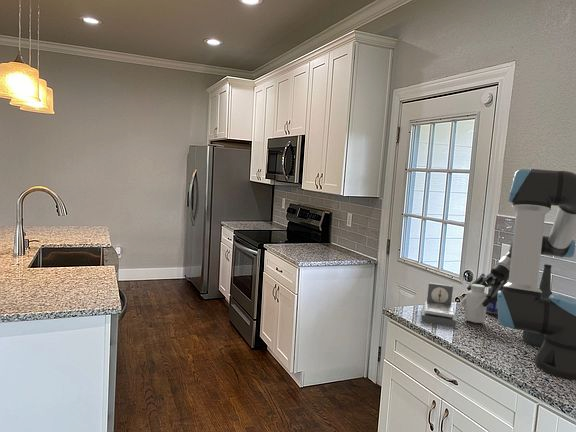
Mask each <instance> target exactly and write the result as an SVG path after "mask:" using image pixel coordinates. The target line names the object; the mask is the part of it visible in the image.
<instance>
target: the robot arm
mask: <svg viewBox="0 0 576 432" xmlns="http://www.w3.org/2000/svg"><path fill="white" fill-rule="evenodd" d="M513 176H514V177H513V179H512V183H511V188H510V191H509V196H508V199H507V201H508V202H509V203H512V205H511V208H512V209H513V211H514V212H515V220H514V221H515V222H514V228H513V229H514V231H513V234H512V237H511V240H510V241H511V242H510V245H509V250H508V251H507V252H506V253H505V254H504V255H503V256H502V257H501V258H499V259H500V260H499V261H498V262H497V263H496V264H495V265H494V266H493V267H492V268H491V270H490V273H488V274H484V273H481V274H480V275H479V277H478V278H477V279H475V281H473V282H472V283H471V284H480V285H483V286H485V288H489V287H490V288H489V289H490V291H489V290H488V293H487V294H488V296H486V297H487V298H486V297H484V298H483V299H482V300H481V302H480V303H479V304H478V305H477V306H476V307H475V309H476V311H477V312H478V313H480V312H481V310H482V309H483V308H484V307H486V306H487V305H488V304H489V303H490V302H492V301H494V302H497V304H498V315H497V319H498V320H497V321H498V323H499V325H500V326H503V327H505V328H509V329H512V330H518V331H519V330H520V331H522V332H523V331H529V332H534V333H539V334H544V335H545V337H544V342H543V344H542V346H541V347H539V350H538V351H537V353H536V355H535V358H534V365H535V366H536V367H537V368H538V369H540V371H541V370H542V371H543V372H545V373H547V374H549V375H553V376H555V377H559V378H562V379H565V380H566V379H567V380H571V381H576V298H572V297H569V296H567V295H561V294H555V293H554V294H553V293H552V295H550V297H549V299H547V298H542V291H541V290H540V289H539V284H538V283H539V276H540V275H539V273H540V267H541V266H540V265H541V264H540V263H541V256H542V255H543V256H550V257H559V258H572V257H574V255H575V251H576V241H575V239H574V236H575V234H576V173H575V172H572V171H568V170H551V169H537V168H535V169H534V168H529V169H527V168H526V169H525V168H523V169H522V168H521V169H518V170H516V171H515V173H514V175H513ZM552 206H554V207H555V206H557V207H558V209H557V212H556V215H555V217H554V221H553V225H552V227H551V229H550V233H549V235H548V236H547V235H544V227H545V218H546V215H547V213H549V212H550V211H551V210H552ZM471 284H469V285H468V286H467V287H466V289H467V292H468V291H470V290H471ZM495 297H496V298H495ZM466 299H467V293H465V295H464V297H463V298H461V300H460V302H459V303H460V304H461V306H462V307H464V308H466Z"/></svg>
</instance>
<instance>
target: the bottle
mask: <svg viewBox="0 0 576 432" xmlns="http://www.w3.org/2000/svg"><path fill="white" fill-rule="evenodd" d="M543 267H544V268H543V272H542V276H541V280H540V283H539V286H538V288H539V289H540V290H541V291H542V298H547V299H549V297H550V295H552V294H553V292H552V289H551V288H552V287H551V285H552V284H551V283H552V281H551V280H552V279H551V278H552V264H544V265H543ZM544 337H545V335H544V334H539V333H534V332H529V331H523V330H522V341H524V342H525V343H526V344H528V345H530V346H533V347H538V348H541V346H542V344H543V342H544Z"/></svg>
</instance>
